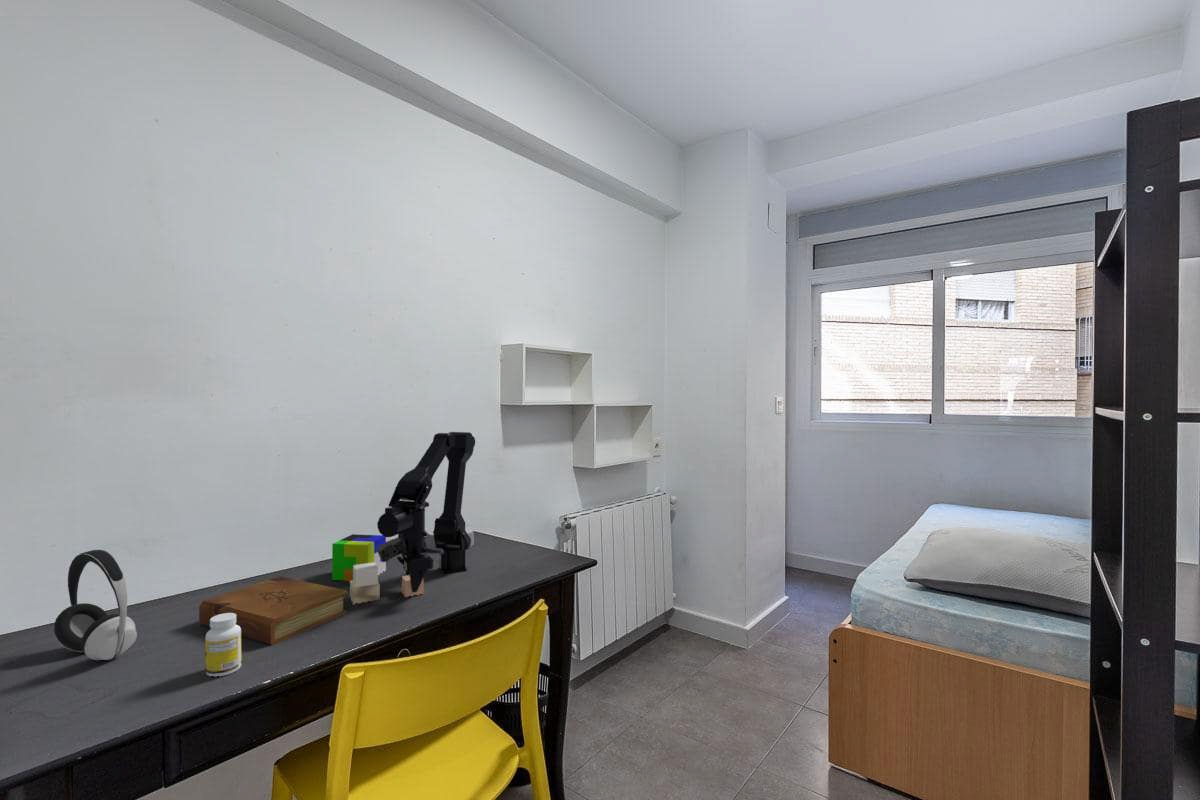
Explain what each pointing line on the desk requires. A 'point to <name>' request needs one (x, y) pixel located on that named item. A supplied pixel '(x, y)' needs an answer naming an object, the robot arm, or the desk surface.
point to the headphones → (96, 613)
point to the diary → (276, 608)
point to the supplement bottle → (223, 645)
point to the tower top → (365, 574)
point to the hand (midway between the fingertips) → (412, 588)
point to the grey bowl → (431, 543)
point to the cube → (407, 587)
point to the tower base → (364, 593)
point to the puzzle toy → (355, 555)
